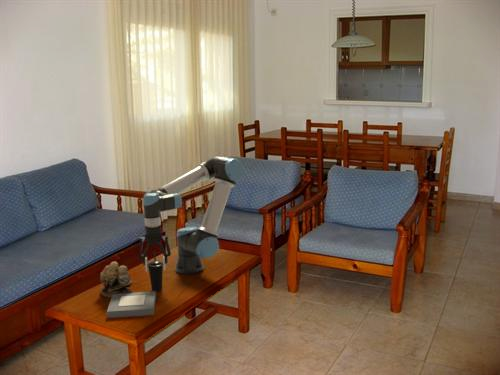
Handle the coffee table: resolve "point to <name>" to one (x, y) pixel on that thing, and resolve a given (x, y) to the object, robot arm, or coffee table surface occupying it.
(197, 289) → the coffee table surface
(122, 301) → the base
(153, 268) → the drinking cup
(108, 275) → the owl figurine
